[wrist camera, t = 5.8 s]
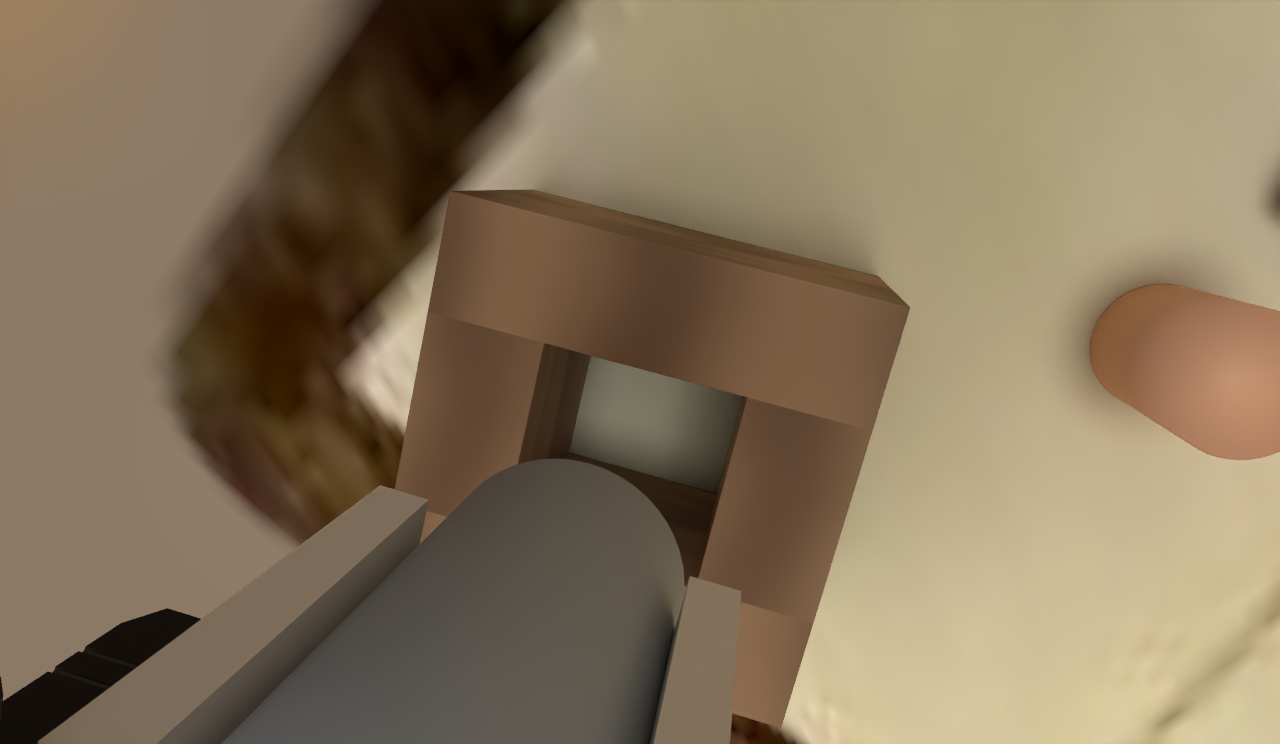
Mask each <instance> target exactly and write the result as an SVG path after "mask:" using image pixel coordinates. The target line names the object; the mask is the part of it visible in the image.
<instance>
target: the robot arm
mask: <svg viewBox="0 0 1280 744" xmlns="http://www.w3.org/2000/svg"><path fill="white" fill-rule="evenodd" d="M428 501H429V499H425V498H422V497H418V496H415V495H412V494H408V493H405V492H401V491H398V490H394V489H391V488H388V487H384V486H381V485H380V486H379V487H377V488H376V489H375V490H373V491H372V492H371V493H369V494H368V495H367V496H365V497H364V498H363V499H361V500H360V501H359V502H357V503H356V504H355V505H353V506H352V507H351V508H349V509H348V510H347V511H345V512H344V513H343V514H341V515H340V516H339V517H337V518H336V519H335V520H333V521H332V522H331V523H329V524H328V525H327V526H325V527H324V528H323V529H321V530H320V531H319V532H317V533H316V534H315V535H313V536H312V537H311V538H309V539H308V540H307V541H305V542H304V543H303V544H301V545H300V546H299V547H297V548H296V549H294V550H293V551H292V552H290V553H289V554H288V555H286V556H285V557H284V558H282V559H281V560H280V561H279V562H277V563H276V564H275V565H273V566H272V567H270V568H269V569H268V570H266V571H265V572H264V573H262V574H261V575H260V576H258V577H257V578H256V579H254V580H253V581H252V582H251V583H249V584H248V585H247V586H245V587H244V588H243V589H241V590H240V591H239V592H237V593H236V594H234V595H233V596H232V597H230V598H229V599H228V600H226V601H225V602H224V603H222V604H221V605H220V606H218V607H217V608H216V609H214V610H213V611H212V612H210V613H209V614H208V615H206V616H205V617H204V618H202V619H200V618H197V617H193V616H190V615H187V614H184V613H181V612H177V611H174V610H171V609H164V610H161V611H158V612H154V613H151V614H148V615H146V616H142V617H139V618H136V619H133V620H129V621H126V622H123V623H121V624H119V625H118V626H116V627H114V628H113V629H112V630H110V631H109V632H107V633H105V634H104V635H102V636H101V637H99V638H98V639H96V640H95V641H93V642H92V643H90V644H89V645H87V646H86V647H85V650H84V651H83V652H77V653H75V654H74V655H73V656H71V657H69V658H68V659H66V660H65V661H63V662H62V663H60V664H59V665H57V666H56V667H55V670H54V671H53V672H52V673H51V672H47V673H45V674H44V675H42V676H41V677H39V678H38V679H36V680H34V681H33V682H31V683H30V684H28V685H27V686H26V687H24V688H22V689H21V690H19V691H18V692H16V693H15V694H13V695H12V696H10V697H9V698H7V699H6V700H4V701H3V690H2V683H1V677H0V744H221V743H222V742H223V741H224V740H225V739H226V738H227V737H228V736H229V735H230V734H231V733H232V732H233V731H234V730H235V729H236V728H237V727H238V726H239V725H240V724H241V723H242V722H243V721H244V720H245V719H246V718H247V717H248V716H249V715H250V714H251V713H252V712H253V711H254V710H255V709H256V708H257V707H258V706H259V705H260V704H261V703H262V702H263V701H264V700H265V699H266V698H267V697H268V696H269V695H270V694H271V693H272V692H273V691H274V690H275V689H276V688H277V687H278V686H279V685H280V684H281V683H282V682H283V681H284V680H285V679H286V678H287V677H288V676H289V675H290V674H291V673H292V672H293V671H294V670H295V669H296V668H297V667H298V666H299V665H300V664H301V663H302V662H303V661H304V660H305V659H306V658H307V657H308V656H309V655H310V654H311V653H312V652H313V651H314V650H315V649H316V648H317V647H318V646H319V645H320V644H321V643H322V642H323V641H324V640H325V639H326V638H327V637H328V636H329V635H330V634H331V633H332V632H333V631H334V630H335V629H336V628H337V627H338V626H339V625H340V624H341V623H342V622H343V621H344V620H345V619H346V618H347V617H348V616H349V615H350V614H351V613H352V612H353V611H354V610H355V609H356V608H357V607H358V606H359V605H360V604H361V603H362V602H363V601H364V600H365V599H366V598H367V597H368V596H369V595H370V594H371V593H372V592H373V591H374V590H375V589H376V588H377V587H378V586H379V585H380V584H381V583H382V582H383V581H384V580H385V579H386V578H387V577H388V576H389V575H390V574H391V573H392V572H393V571H394V570H395V569H396V568H397V567H398V566H399V565H400V564H401V563H402V562H403V561H404V560H405V559H406V558H407V557H408V556H409V555H410V554H411V553H412V552H413V551H414V550H415V549H416V548H417V547H418V546H419V544H420V540H421V535H422V530H423V525H424V521H425V516H426V511H427V506H428ZM740 603H741V591H740V590H736V589H733V588H729V587H726V586H723V585H719V584H716V583H712V582H709V581H705V580H702V579H699V578H695V577H692V576H690V577H689V581H688V584H687V588H686V591H685V595H684V598H683V602H682V605H681V609H680V613H679V616H678V620H677V623H676V627H675V630H674V635H673V639H672V644H671V648H670V653H669V657H668V662H667V666H666V671H665V675H664V680H663V684H662V689H661V693H660V698H659V702H658V707H657V711H656V716H655V720H654V724H653V729H652V733H651V738H650V742H649V744H730V732H731V719H732V706H733V693H734V680H735V668H736V655H737V642H738V629H739V616H740ZM2 701H3V702H2Z"/></svg>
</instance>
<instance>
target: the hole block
mask: <svg viewBox="0 0 1280 744" xmlns="http://www.w3.org/2000/svg"><path fill="white" fill-rule="evenodd" d="M909 310H910V307H909V306H908V305H907V304H906V303H905V302H904V301H903V300H902V299H901V298H900V297H899V296H898V295H897V294H896V293H895V292H894V291H893V290H892V289H891V288H890V287H889V286H888V285H887V284H886V283H885V282H884V281H883V280H882V279H881V278H880V277H878V276H874V275H870V274H866V273H862V272H858V271H854V270H850V269H846V268H842V267H838V266H834V265H830V264H826V263H822V262H818V261H814V260H810V259H806V258H802V257H798V256H794V255H790V254H786V253H782V252H778V251H774V250H770V249H766V248H762V247H758V246H754V245H750V244H746V243H742V242H738V241H734V240H730V239H726V238H722V237H718V236H714V235H710V234H706V233H702V232H698V231H694V230H690V229H686V228H682V227H679V226H675V225H671V224H667V223H663V222H659V221H655V220H651V219H647V218H643V217H639V216H635V215H631V214H627V213H623V212H619V211H615V210H611V209H607V208H603V207H599V206H595V205H591V204H587V203H583V202H579V201H575V200H571V199H567V198H563V197H559V196H555V195H551V194H547V193H543V192H539V191H535V190H485V191H450V197H449V202H448V207H447V213H446V218H445V223H444V229H443V234H442V240H441V245H440V250H439V256H438V261H437V266H436V272H435V277H434V282H433V288H432V293H431V298H430V304H429V309H428V314H427V320H426V325H425V331H424V336H423V341H422V347H421V352H420V357H419V363H418V368H417V373H416V379H415V384H414V389H413V395H412V400H411V405H410V411H409V416H408V422H407V427H406V432H405V438H404V443H403V448H402V454H401V459H400V464H399V470H398V475H397V480H396V486H395V490H398V491H401V492H405V493H408V494H412V495H415V496H418V497H422V498H425V499H429V501H428V506H427V511H426V516H425V521H424V525H423V530H422V535H421V540H420V544H421V543H422V542H423V541H424V540H425V539H426V538H427V537H428V536H429V535H430V534H431V533H432V532H433V531H434V530H435V529H436V528H437V527H438V526H439V525H440V524H441V523H442V522H443V521H444V520H445V519H446V518H447V517H448V516H449V515H450V514H451V513H452V512H453V511H454V510H455V509H456V508H457V507H458V506H459V505H460V504H461V503H462V502H463V501H464V500H465V499H466V498H467V497H468V496H469V495H470V494H471V493H472V492H473V491H474V490H475V489H476V488H477V487H478V486H480V485H481V484H482V483H483V482H484V481H486V480H487V479H489V478H490V477H492V476H493V475H495V474H496V473H498V472H500V471H503V470H505V469H507V468H509V467H511V466H514V465H518V464H521V463H524V462H528V461H534V460H540V459H568V460H576V461H580V462H585V463H589V464H592V465H595V466H598V467H601V468H604V469H606V470H608V471H610V472H612V473H614V474H616V475H618V476H620V477H622V478H623V479H625V480H626V481H628V482H629V483H631V484H632V485H634V486H635V487H636V488H637V489H638V490H639V491H641V492H642V493H643V494H644V495H645V496H646V497H647V498H648V499H649V500H650V501H651V502H652V503H653V504H654V505H655V507H656V508H657V509H658V510H659V512H660V513H661V515H662V516H663V517H664V519H665V520H666V522H667V523H668V525H669V527H670V529H671V531H672V533H673V535H674V537H675V540H676V543H677V545H678V548H679V551H680V555H681V559H682V564H683V571H684V595H685V591H686V588H687V584H688V581H689V577H690V576H692V577H695V578H699V579H702V580H705V581H709V582H712V583H716V584H719V585H723V586H726V587H729V588H733V589H736V590H740V591H741V603H740V616H739V629H738V642H737V655H736V668H735V680H734V693H733V706H732V713H733V714H736V715H740V716H743V717H746V718H750V719H753V720H756V721H759V722H763V723H766V724H769V725H773V726H776V727H779V728H781V726H782V723H783V720H784V716H785V713H786V710H787V707H788V703H789V700H790V697H791V694H792V690H793V687H794V684H795V681H796V677H797V674H798V671H799V668H800V664H801V661H802V658H803V655H804V651H805V648H806V645H807V642H808V638H809V635H810V632H811V629H812V625H813V622H814V619H815V616H816V612H817V609H818V606H819V602H820V599H821V596H822V593H823V589H824V586H825V583H826V580H827V576H828V573H829V570H830V567H831V563H832V560H833V557H834V554H835V550H836V547H837V544H838V541H839V537H840V534H841V531H842V528H843V524H844V521H845V518H846V515H847V511H848V508H849V505H850V502H851V498H852V495H853V492H854V489H855V485H856V482H857V479H858V476H859V472H860V469H861V466H862V463H863V459H864V456H865V453H866V450H867V446H868V443H869V440H870V437H871V433H872V430H873V427H874V423H875V420H876V417H877V414H878V410H879V407H880V404H881V401H882V397H883V394H884V391H885V388H886V384H887V381H888V378H889V375H890V371H891V368H892V365H893V362H894V358H895V355H896V352H897V349H898V345H899V342H900V339H901V336H902V332H903V329H904V326H905V323H906V319H907V316H908V313H909ZM590 356H595V357H598V358H602V359H606V360H610V361H613V362H617V363H621V364H624V365H628V366H632V367H636V368H639V369H643V370H647V371H651V372H654V373H658V374H662V375H666V376H669V377H673V378H677V379H681V380H684V381H688V382H692V383H695V384H699V385H703V386H707V387H710V388H714V389H718V390H722V391H725V392H729V393H733V394H737V395H740V396H743V399H742V403H741V407H740V410H739V414H738V418H737V421H736V425H735V429H734V432H733V436H732V440H731V443H730V447H729V451H728V454H727V458H726V462H725V466H724V469H723V473H722V477H721V480H720V484H719V488H718V491H717V494H714V493H711V492H707V491H704V490H700V489H696V488H693V487H689V486H686V485H682V484H679V483H675V482H671V481H668V480H664V479H661V478H657V477H654V476H650V475H646V474H643V473H639V472H636V471H632V470H628V469H625V468H621V467H618V466H614V465H611V464H607V463H603V462H600V461H596V460H593V459H589V458H585V457H582V456H578V455H575V454H571V453H568V452H569V447H570V443H571V439H572V434H573V430H574V426H575V421H576V417H577V413H578V408H579V404H580V400H581V395H582V391H583V387H584V382H585V378H586V374H587V369H588V365H589V361H590ZM420 544H419V545H420Z"/></svg>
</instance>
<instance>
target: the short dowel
mask: <svg viewBox="0 0 1280 744" xmlns="http://www.w3.org/2000/svg"><path fill="white" fill-rule="evenodd" d="M1090 357H1091V363H1092V366H1093V370H1094V372H1095V374H1096V376H1097V378H1098V379H1099V381H1100V382H1101V384H1102V385H1103V386H1104V387H1105V388H1106V389H1107V390H1108V391H1109V392H1110V393H1111V394H1112V395H1114V396H1115V397H1117V398H1118V399H1120V400H1122V401H1123V402H1125V403H1126V404H1128V405H1129V406H1131V407H1133V408H1134V409H1136V410H1137V411H1139V412H1140V413H1142V414H1144V415H1145V416H1147V417H1148V418H1150V419H1151V420H1153V421H1155V422H1156V423H1158V424H1159V425H1161V426H1162V427H1164V428H1166V429H1167V430H1169V431H1170V432H1172V433H1173V434H1175V435H1176V436H1178V437H1180V438H1181V439H1183V440H1184V441H1186V442H1187V443H1189V444H1191V445H1192V446H1194V447H1195V448H1197V449H1198V450H1201V451H1203V452H1205V453H1207V454H1210V455H1213V456H1216V457H1220V458H1225V459H1233V460H1250V459H1256V458H1262V457H1265V456H1269V455H1272V454H1275V453H1277V452H1280V311H1277V310H1273V309H1269V308H1265V307H1261V306H1257V305H1253V304H1249V303H1245V302H1241V301H1237V300H1233V299H1229V298H1225V297H1221V296H1217V295H1213V294H1209V293H1205V292H1202V291H1198V290H1194V289H1190V288H1186V287H1182V286H1177V285H1172V284H1152V285H1147V286H1143V287H1140V288H1136V289H1134V290H1132V291H1129V292H1127V293H1126V294H1124V295H1122V296H1121V297H1119V298H1118V299H1117V300H1115V301H1114V302H1113V303H1112V304H1111V305H1110V306H1109V307H1108V308H1107V309H1106V310H1105V311H1104V312H1103V314H1102V315H1101V316H1100V318H1099V320H1098V321H1097V323H1096V326H1095V328H1094V330H1093V334H1092V337H1091V343H1090Z"/></svg>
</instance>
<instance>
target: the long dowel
mask: <svg viewBox="0 0 1280 744" xmlns="http://www.w3.org/2000/svg"><path fill="white" fill-rule="evenodd" d="M683 598H684V571H683V564H682V559H681V555H680V551H679V548H678V545H677V543H676V540H675V537H674V535H673V533H672V531H671V529H670V527H669V525H668V523H667V522H666V520H665V519H664V517H663V516H662V515H661V513H660V512H659V510H658V509H657V508H656V507H655V505H654V504H653V503H652V502H651V501H650V500H649V499H648V498H647V497H646V496H645V495H644V494H643V493H642V492H641V491H639V490H638V489H637V488H636V487H635V486H634V485H632V484H631V483H629V482H628V481H626V480H625V479H623V478H622V477H620V476H618V475H616V474H614V473H612V472H610V471H608V470H606V469H604V468H601V467H598V466H595V465H592V464H589V463H585V462H580V461H576V460H568V459H540V460H534V461H528V462H524V463H521V464H518V465H514V466H511V467H509V468H507V469H505V470H503V471H500V472H498V473H496V474H495V475H493V476H492V477H490V478H489V479H487V480H486V481H484V482H483V483H482V484H481V485H480V486H478V487H477V488H476V489H475V490H474V491H473V492H472V493H471V494H470V495H469V496H468V497H467V498H466V499H465V500H464V501H463V502H462V503H461V504H460V505H459V506H458V507H457V508H456V509H455V510H454V511H453V512H452V513H451V514H450V515H449V516H448V517H447V518H446V519H445V520H444V521H443V522H442V523H441V524H440V525H439V526H438V527H437V528H436V529H435V530H434V531H433V532H432V533H431V534H430V535H429V536H428V537H427V538H426V539H425V540H424V541H423V542H422V543H421V544H420V545H419V546H418V547H417V548H416V549H415V550H414V551H413V552H412V553H411V554H410V555H409V556H408V557H407V558H406V559H405V560H404V561H403V562H402V563H401V564H400V565H399V566H398V567H397V568H396V569H395V570H394V571H393V572H392V573H391V574H390V575H389V576H388V577H387V578H386V579H385V580H384V581H383V582H382V583H381V584H380V585H379V586H378V587H377V588H376V589H375V590H374V591H373V592H372V593H371V594H370V595H369V596H368V597H367V598H366V599H365V600H364V601H363V602H362V603H361V604H360V605H359V606H358V607H357V608H356V609H355V610H354V611H353V612H352V613H351V614H350V615H349V616H348V617H347V618H346V619H345V620H344V621H343V622H342V623H341V624H340V625H339V626H338V627H337V628H336V629H335V630H334V631H333V632H332V633H331V634H330V635H329V636H328V637H327V638H326V639H325V640H324V641H323V642H322V643H321V644H320V645H319V646H318V647H317V648H316V649H315V650H314V651H313V652H312V653H311V654H310V655H309V656H308V657H307V658H306V659H305V660H304V661H303V662H302V663H301V664H300V665H299V666H298V667H297V668H296V669H295V670H294V671H293V672H292V673H291V674H290V675H289V676H288V677H287V678H286V679H285V680H284V681H283V682H282V683H281V684H280V685H279V686H278V687H277V688H276V689H275V690H274V691H273V692H272V693H271V694H270V695H269V696H268V697H267V698H266V699H265V700H264V701H263V702H262V703H261V704H260V705H259V706H258V707H257V708H256V709H255V710H254V711H253V712H252V713H251V714H250V715H249V716H248V717H247V718H246V719H245V720H244V721H243V722H242V723H241V724H240V725H239V726H238V727H237V728H236V729H235V730H234V731H233V732H232V733H231V734H230V735H229V736H228V737H227V738H226V739H225V740H224V741H223V742H222V743H221V744H649V742H650V738H651V733H652V729H653V724H654V720H655V716H656V711H657V707H658V702H659V698H660V693H661V689H662V684H663V680H664V675H665V671H666V666H667V662H668V657H669V653H670V648H671V644H672V639H673V635H674V630H675V627H676V623H677V620H678V616H679V613H680V609H681V605H682V602H683Z"/></svg>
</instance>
